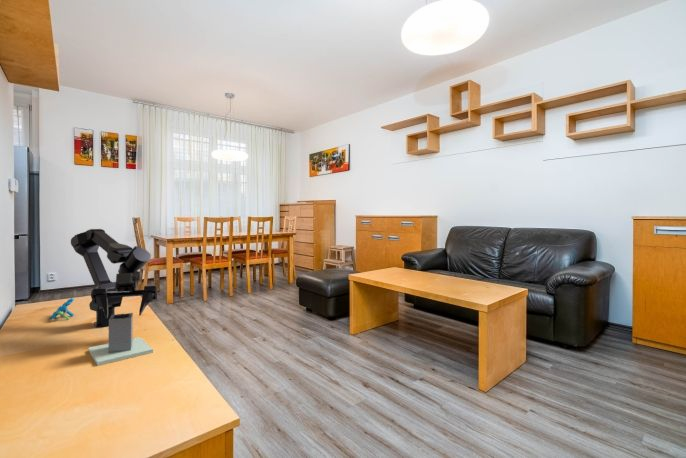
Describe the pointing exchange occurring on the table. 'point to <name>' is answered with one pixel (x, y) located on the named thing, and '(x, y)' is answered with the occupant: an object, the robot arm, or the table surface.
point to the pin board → (104, 357)
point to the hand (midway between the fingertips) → (123, 316)
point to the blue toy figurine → (63, 310)
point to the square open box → (120, 332)
